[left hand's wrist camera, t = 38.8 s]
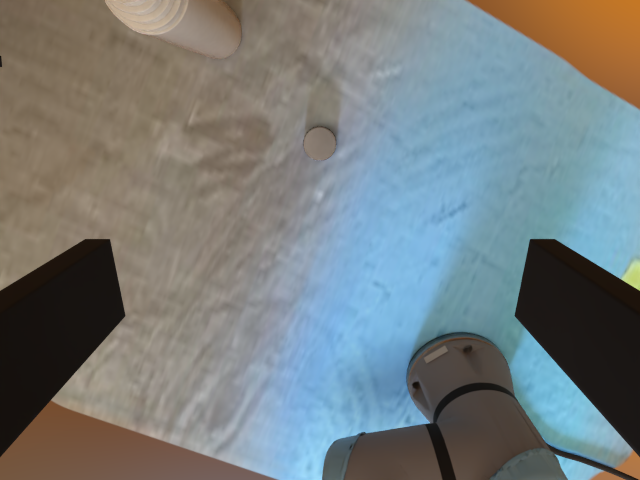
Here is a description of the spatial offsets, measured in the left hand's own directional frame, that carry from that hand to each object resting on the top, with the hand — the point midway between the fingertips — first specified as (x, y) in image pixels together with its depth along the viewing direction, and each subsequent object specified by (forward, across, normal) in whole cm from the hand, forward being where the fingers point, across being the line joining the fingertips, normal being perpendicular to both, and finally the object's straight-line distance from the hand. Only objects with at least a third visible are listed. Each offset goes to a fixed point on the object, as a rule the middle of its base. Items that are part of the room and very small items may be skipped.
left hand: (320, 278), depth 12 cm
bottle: (+38, +12, -12) cm, 42 cm away
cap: (+37, 0, 0) cm, 37 cm away
